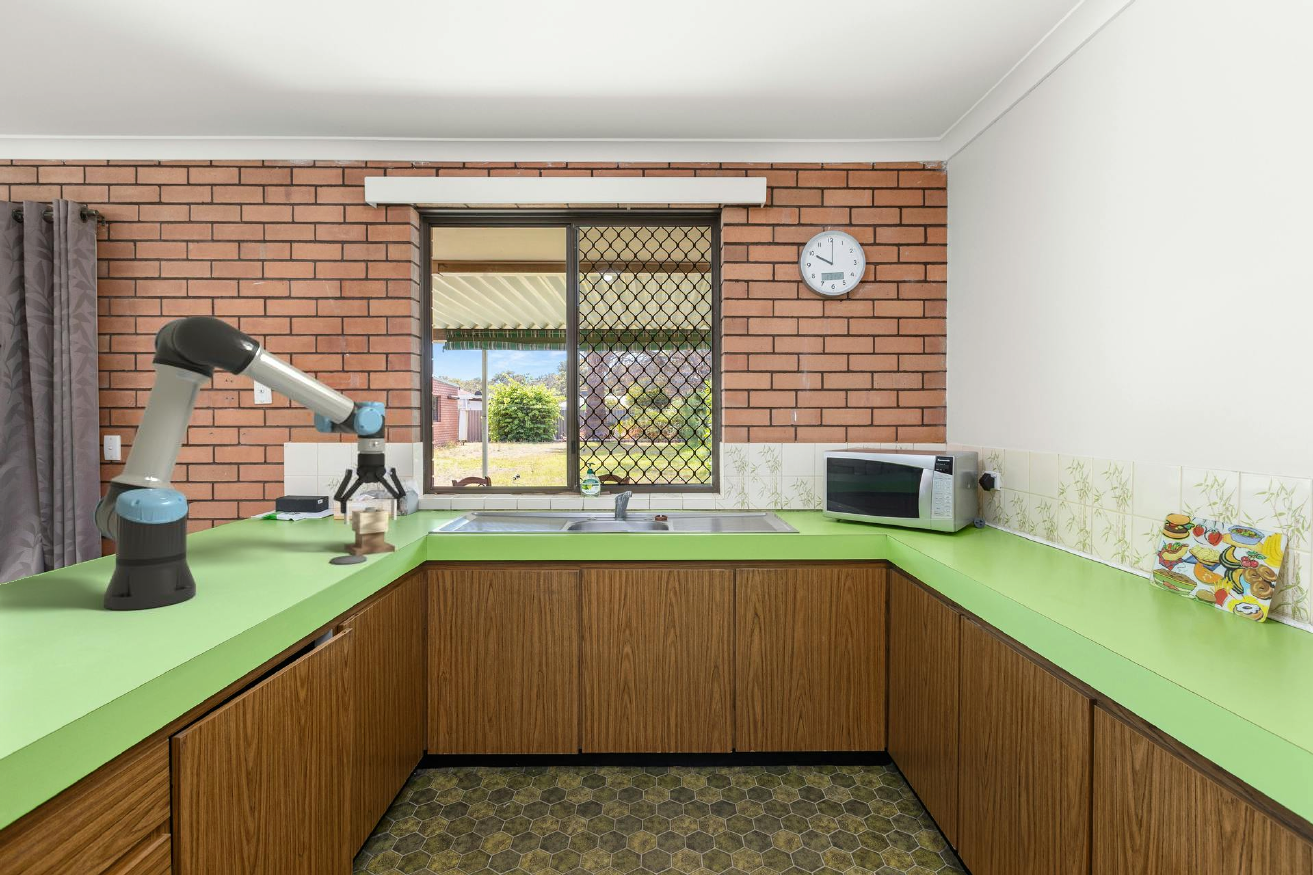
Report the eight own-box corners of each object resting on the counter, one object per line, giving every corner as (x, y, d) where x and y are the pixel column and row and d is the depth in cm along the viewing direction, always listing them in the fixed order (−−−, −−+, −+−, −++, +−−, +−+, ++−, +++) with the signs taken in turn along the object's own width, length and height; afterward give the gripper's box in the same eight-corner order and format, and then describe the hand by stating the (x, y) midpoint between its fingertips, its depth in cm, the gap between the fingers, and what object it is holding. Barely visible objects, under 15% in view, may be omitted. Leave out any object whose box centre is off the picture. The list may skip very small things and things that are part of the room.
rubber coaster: (335, 566, 161) (335, 563, 161) (326, 560, 168) (326, 557, 168) (371, 561, 167) (371, 559, 167) (360, 555, 174) (360, 553, 174)
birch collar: (360, 534, 176) (360, 513, 176) (351, 530, 182) (352, 510, 182) (388, 531, 181) (388, 511, 181) (379, 527, 187) (379, 508, 187)
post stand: (355, 555, 174) (356, 511, 174) (344, 549, 182) (345, 507, 182) (394, 551, 181) (395, 508, 181) (382, 545, 189) (382, 504, 189)
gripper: (329, 454, 170) (329, 528, 170) (417, 452, 187) (416, 519, 188) (322, 452, 175) (321, 524, 176) (408, 450, 192) (407, 516, 193)
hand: (370, 521), depth 182 cm, fingers open, 13 cm apart
